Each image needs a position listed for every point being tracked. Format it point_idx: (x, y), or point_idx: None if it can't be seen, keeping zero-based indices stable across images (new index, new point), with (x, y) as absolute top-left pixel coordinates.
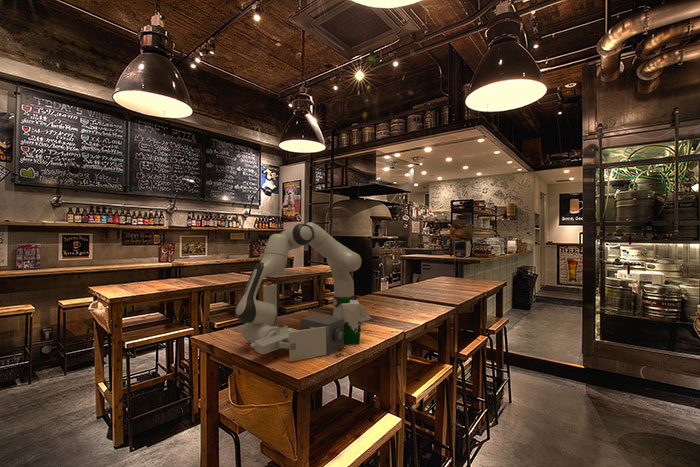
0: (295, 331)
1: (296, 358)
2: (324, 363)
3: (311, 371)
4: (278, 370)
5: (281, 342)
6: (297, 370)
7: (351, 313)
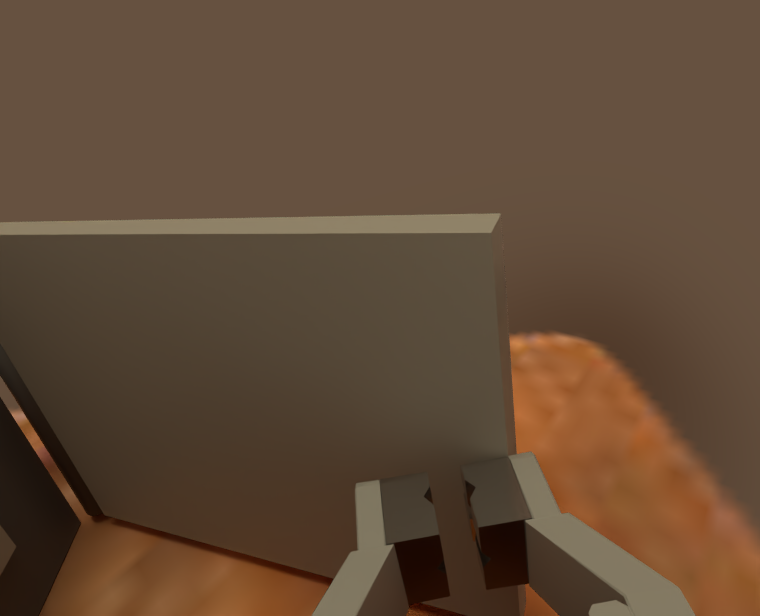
0: (368, 219)
1: None
2: None
3: None
4: (735, 516)
5: (635, 588)
6: (537, 419)
7: None
